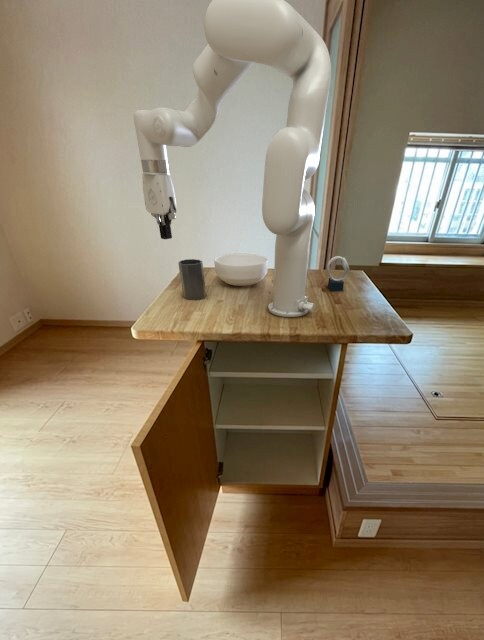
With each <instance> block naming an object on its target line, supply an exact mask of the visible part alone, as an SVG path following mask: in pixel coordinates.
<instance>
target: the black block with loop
mask: <svg viewBox="0 0 484 640" xmlns="http://www.w3.org/2000/svg"><path fill="white" fill-rule="evenodd" d="M337 259H340V263H341V266H342V268H343V270H344V274H343V275H341V276H340V277H333V275H332V272H331V264H332V263H333V262H334V261H335V260H337ZM350 270H351V269H350V265H349V263H348V261H347V259H346V257H345V256H341V255H335V256H333V257H331V258H330V259H329V260H328V262H327V265H326V272H327V275H328V276H329V278H328V281H327V287H328V289H329V291H330V292H343V291H344V286H345V282H344V280H345V279H346V278H347V277H348V275H349V273H350Z"/></svg>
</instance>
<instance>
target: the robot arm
mask: <svg viewBox="0 0 484 640" xmlns="http://www.w3.org/2000/svg"><path fill="white" fill-rule="evenodd" d="M203 26H204V27H203V28H204V35H205V40H206V42H207V45H205V47H204V48H203V50H202V51H201V53H200V54H199V55H198V57H197V58H196V59H195V61H194V62H193V65H192V74H193V78H194V80H195V83H196V85H197V87H198V89H197V93H196V95H195V97H194V99H193V100H192V101H191V102H190V104H189V105H188V106H187V108H186V109H185V110H184V111H183V110H180V109H175V108H170V107H164V106H163V107H155V108H154V109H136V110H135V111H134V112H133V121H134V122H133V123H134V128H135V134H136V139H137V146H138V151H139V157H140V162H141V163H140V164H141V168H142V169H141V170H142V175H141V176H142V191H143V192H142V193H143V200H144V205H145V206H144V207H145V210H146V212H148V213H149V214H150V215H151V216H152V217H153V218H155V220H156V224H157V225H158V229H159V235H160V239H161V240H171V239H173V235H172V234H173V233H172V227H171V225H172V221H173V220H176V218H177V216H176V213H177V211H178V209H177V200H176V192H175V188H174V183H173V179H172V176H171V171H170V170H171V169H170V164H169V163H170V162H169V158H168V157H169V156H168V148H167V147H182V148H191V147H194V146H195V145H197V144H198V143H199V142H200V141H201V140H202V139H203V138H204V137H205V136H206V135H207V133H208V132H209V131H210V130H211V129H212V127H213V125H214V124H215V121H216V119H217V117H218V114H219V110H220V105H221V103H222V102H223V100H224V99H225V98H226V97H227V96H228V95H229V93H230V92H231V91H232V90H233V89H234V88H235V86H236V85H237V84H238V83H239V82H240V80H241V79H242V78H243V77H244V76H245V75H246V74H247V72H248V71H249V70H250V69H251V68H252V66H253V65H254V64H255V63H256V64H261V65H265V66H269V67H271V68H272V69H274V70H276V71H278V72H279V73H282V74H283V75H285V76H287V77H288V78H290V79H291V81H292V89H291V92H290V95H289V99H288V106H287V118H286V126H285V127H283V128H281V129H280V130H278V131H277V132H276V133H275V134H274V135H273V136H272V138H271V139H270V142H269V144H268V147H267V150H266V154H265V161H264V171H263V186H262V199H261V201H262V202H261V216H262V220H263V223H264V225H265V227H266V228H267V230H268V231H269V232H270V233H272V234H274V235H275V244H274V263H273V264H274V267H273V301H272V302H270V303H269V304H268V305H267V307H268V308H267V310H268V312H269V313H271V314H272V315H275V316H278V317H282V318H298V317H302V316H305V315H307V314H308V313H314V311H315V306H316V303H313V302H310V301H309V296H308V295H306V289H307V288H306V287H307V277H308V276H307V275H308V264H309V258H310V257H309V255H310V246H311V237H312V231H313V225H314V220H315V209H316V208H315V202H314V199H313V197H312V196H311V194H310V193H309V192H308V191H307V190H306V189H304V183H305V181H306V180H308V179H310V178H312V176H314V175H315V173H316V171H317V169H318V167H319V163H320V156H321V148H322V143H323V136H324V129H325V123H326V115H327V107H328V101H329V95H330V89H331V83H332V81H331V80H332V63H331V55H330V52H329V49H328V47H327V44H326V42H325V41H324V39H323V37H322V36H321V35H320V34H319V33H318V32H317V31H316V29H315V28H313V26H312V25H311V24H309V22H307V20H306V19H305V18H304V17H303V16H302V15H300V13H299V12H298V11H297V10H296V9H295V8H294V7H293V6H292V5H291V4H290V2H289V3H288V2H287V1H286V0H211V1H210V3H209V4H208V7H207V8H206V12H205V16H204V25H203Z"/></svg>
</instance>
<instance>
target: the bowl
mask: <svg viewBox="0 0 484 640" xmlns="http://www.w3.org/2000/svg"><path fill="white" fill-rule="evenodd" d="M213 262H214V270H215V274H216V275H217V276H218V277H219V279H220V280H221V281H223V282H224V283H226V284H228V285H230V286H235V287H237V286H238V287H247V286H253V285H256V284H258V283H259V282H260V281H262V280H263V279H264V278H265V276H266V275H267V274H268V267H269V259H268V258H267V257H266V256H263V255H261V254H257V253H244V252H240V253H239V252H237V253H227V254H222V255H218V256H216V257H214V260H213Z"/></svg>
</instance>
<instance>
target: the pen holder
mask: <svg viewBox="0 0 484 640" xmlns="http://www.w3.org/2000/svg"><path fill="white" fill-rule="evenodd" d="M177 264H178V269H179V276H180V283H181V284H180V285H181V290H182V296H183V298H184V299H186V300H190V301H191V300H192V301H196V300H197V301H198V300H203V299H204V298H205V297H206V294H207V293H206V283H205V272H204V264H203V260H201V259H195V258H189V259H187V258H186V259H182V260H179V261H178V263H177Z"/></svg>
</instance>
